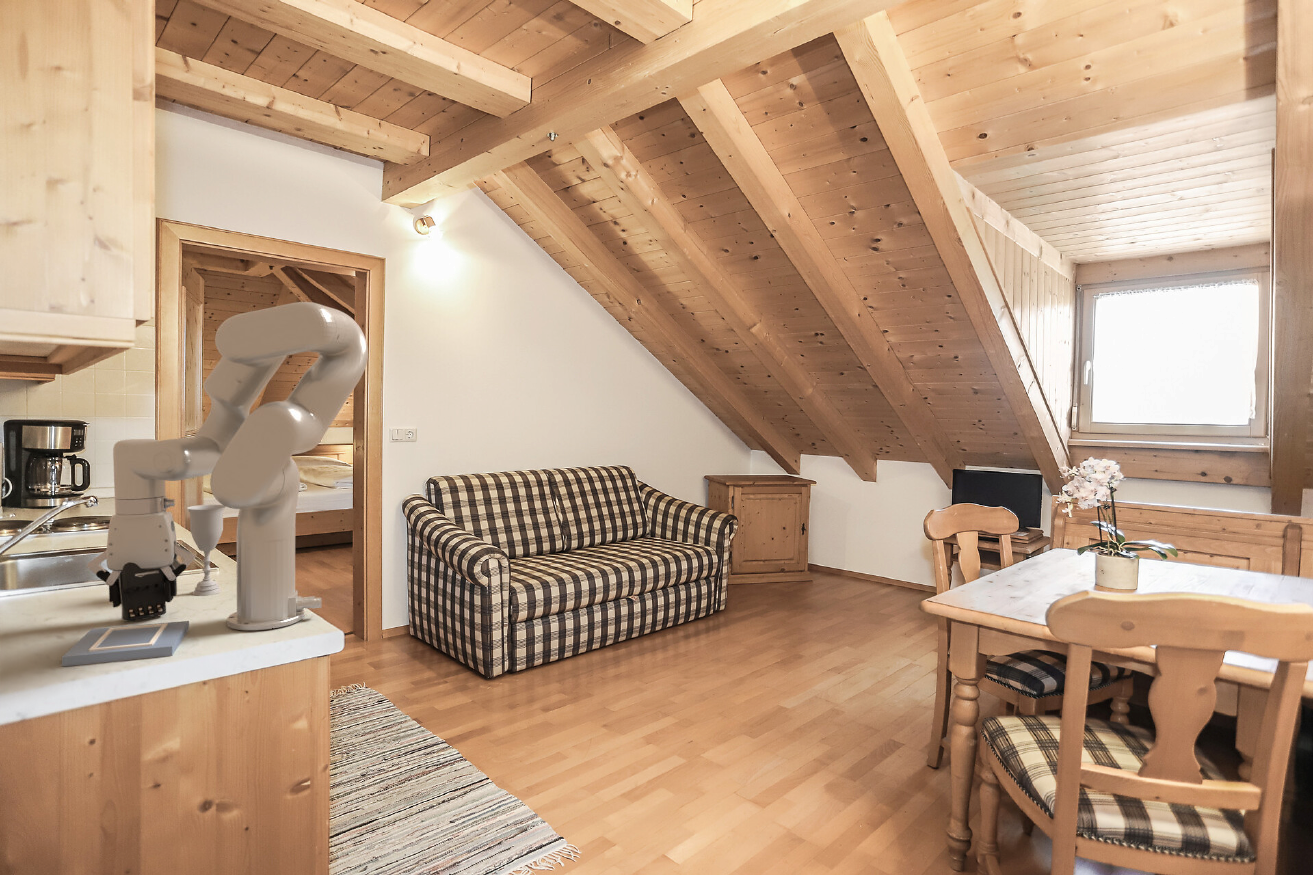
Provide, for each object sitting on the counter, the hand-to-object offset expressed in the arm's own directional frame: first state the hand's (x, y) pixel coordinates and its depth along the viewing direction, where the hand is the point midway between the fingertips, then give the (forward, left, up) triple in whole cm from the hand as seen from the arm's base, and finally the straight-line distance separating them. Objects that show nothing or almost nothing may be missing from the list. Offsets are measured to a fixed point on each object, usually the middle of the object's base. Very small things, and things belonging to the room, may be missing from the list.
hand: (144, 602), depth 131 cm
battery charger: (0, 0, -3) cm, 3 cm away
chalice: (-7, -17, -3) cm, 19 cm away
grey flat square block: (-1, +16, -3) cm, 16 cm away
